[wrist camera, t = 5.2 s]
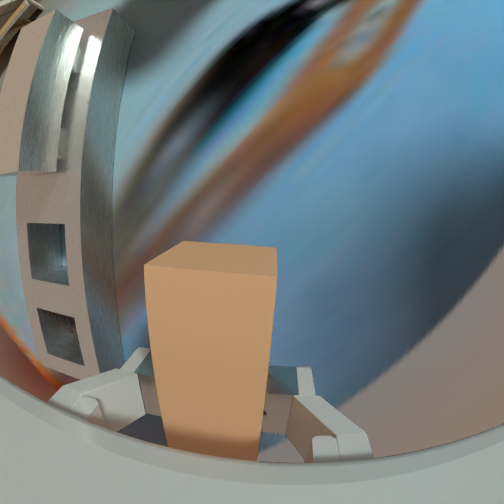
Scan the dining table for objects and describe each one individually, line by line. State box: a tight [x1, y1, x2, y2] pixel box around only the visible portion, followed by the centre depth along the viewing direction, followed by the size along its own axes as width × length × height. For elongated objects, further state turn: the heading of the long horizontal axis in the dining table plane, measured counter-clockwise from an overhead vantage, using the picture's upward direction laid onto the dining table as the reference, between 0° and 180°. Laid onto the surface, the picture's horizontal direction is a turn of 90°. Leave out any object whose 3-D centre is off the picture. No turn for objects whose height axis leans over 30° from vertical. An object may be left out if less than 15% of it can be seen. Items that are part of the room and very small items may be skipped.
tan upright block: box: [144, 241, 277, 461], centre depth 10 cm, size 3×9×7 cm, turn 177°
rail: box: [0, 8, 135, 380], centre depth 13 cm, size 6×24×7 cm, turn 176°
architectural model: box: [0, 0, 44, 47], centre depth 10 cm, size 3×7×7 cm, turn 129°
